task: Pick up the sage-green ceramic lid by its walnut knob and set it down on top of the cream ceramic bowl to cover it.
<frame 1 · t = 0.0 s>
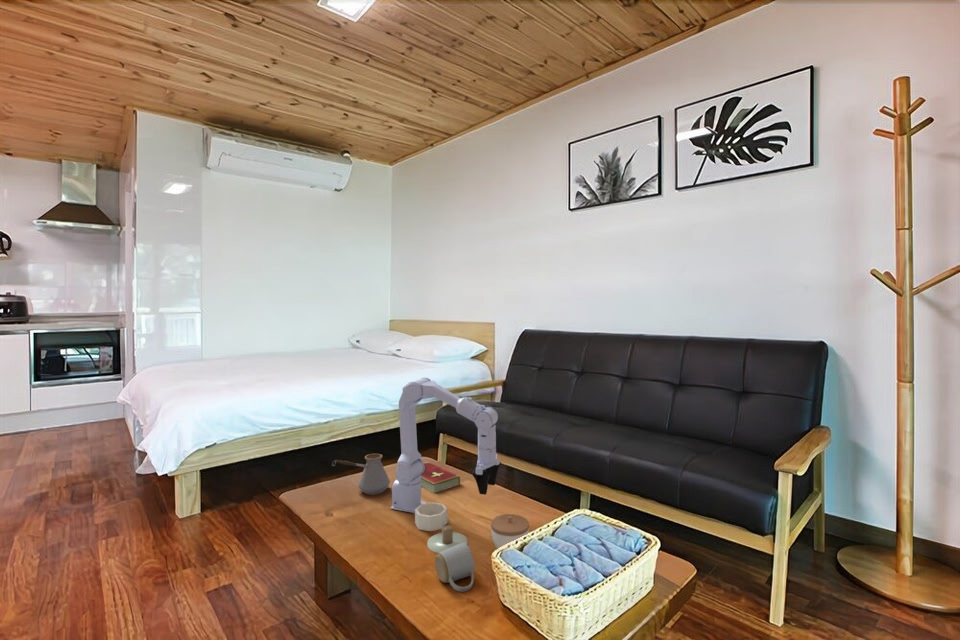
hand: (487, 489, 148), 10 cm above the table, fingers open, 7 cm apart
lid: (447, 544, 135), on the table
coffee pot: (362, 494, 169), on the table
ceramic mug: (457, 580, 117), on the table
lidded jar: (510, 550, 131), on the table
bowl: (431, 523, 147), on the table
hardcover book: (431, 482, 181), on the table
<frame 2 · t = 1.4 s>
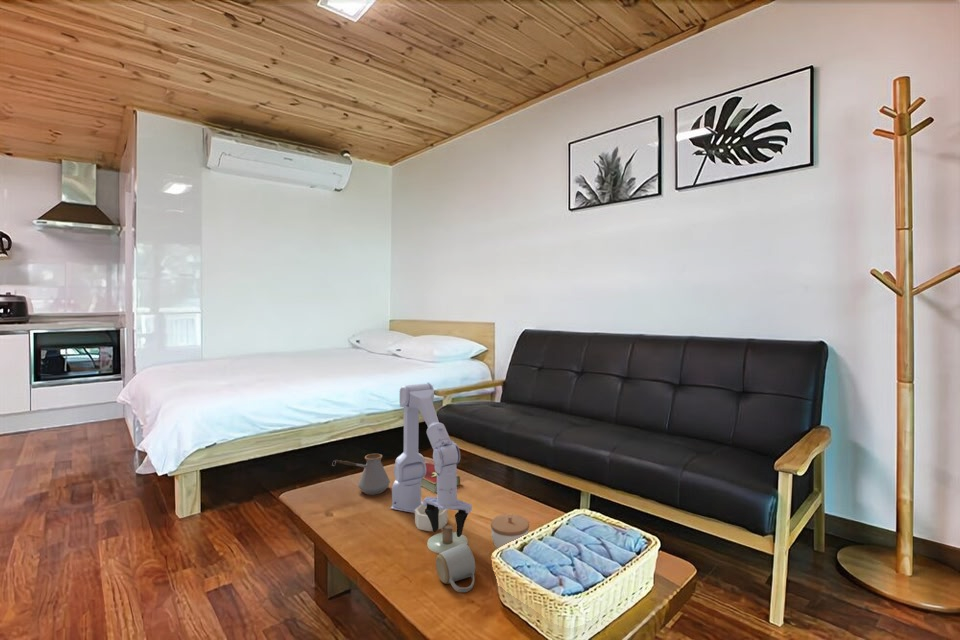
hand: (447, 533, 134), 3 cm above the table, fingers open, 7 cm apart
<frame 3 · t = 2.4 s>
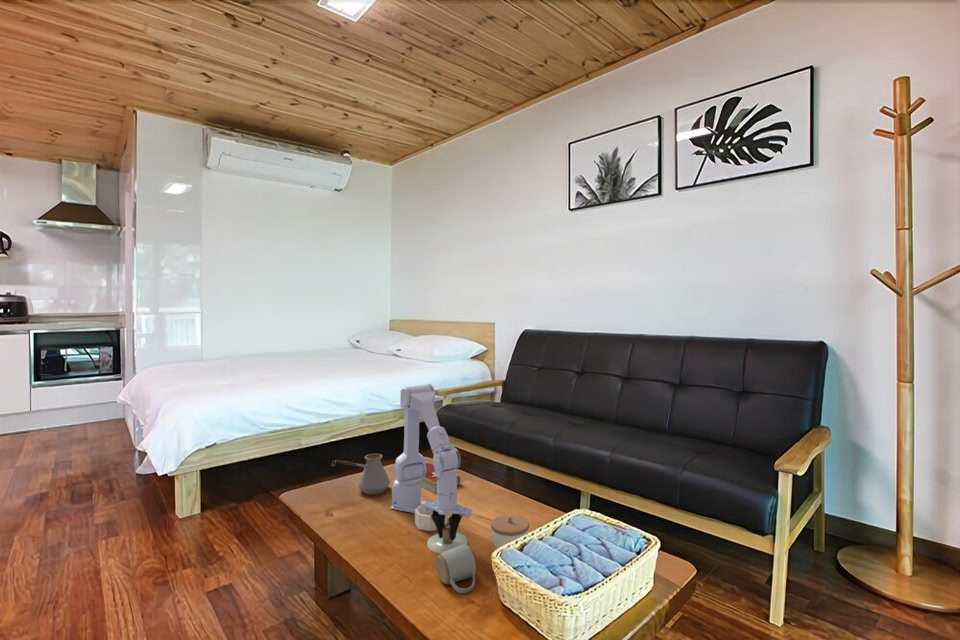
hand: (447, 537, 135), 2 cm above the table, fingers closed on lid, 3 cm apart
lid: (447, 544, 135), on the table, touching gripper
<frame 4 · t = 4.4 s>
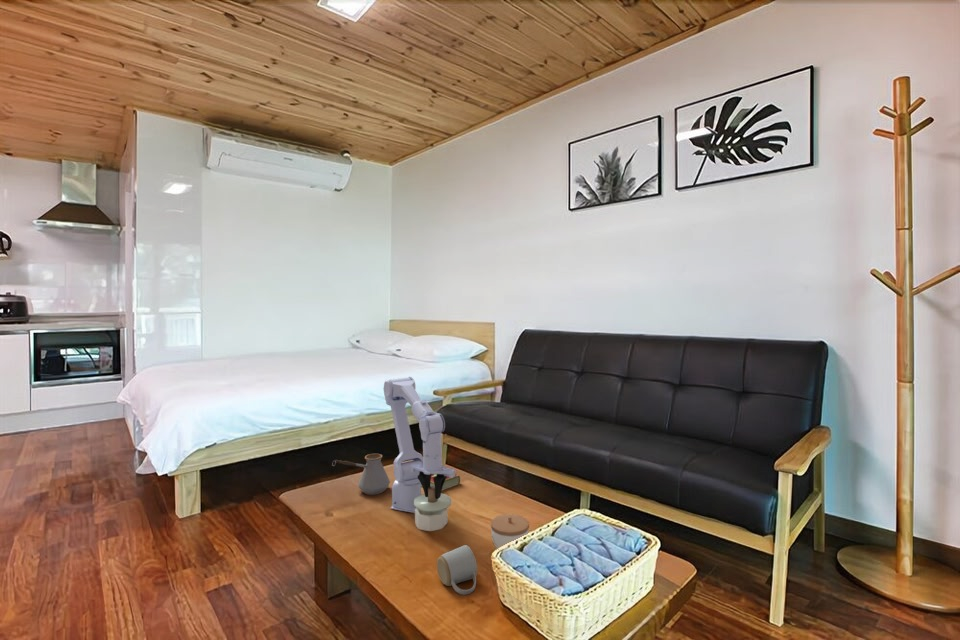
hand: (432, 496, 145), 9 cm above the table, fingers closed on lid, 3 cm apart
lid: (432, 503, 145), point 7 cm above the table, touching gripper
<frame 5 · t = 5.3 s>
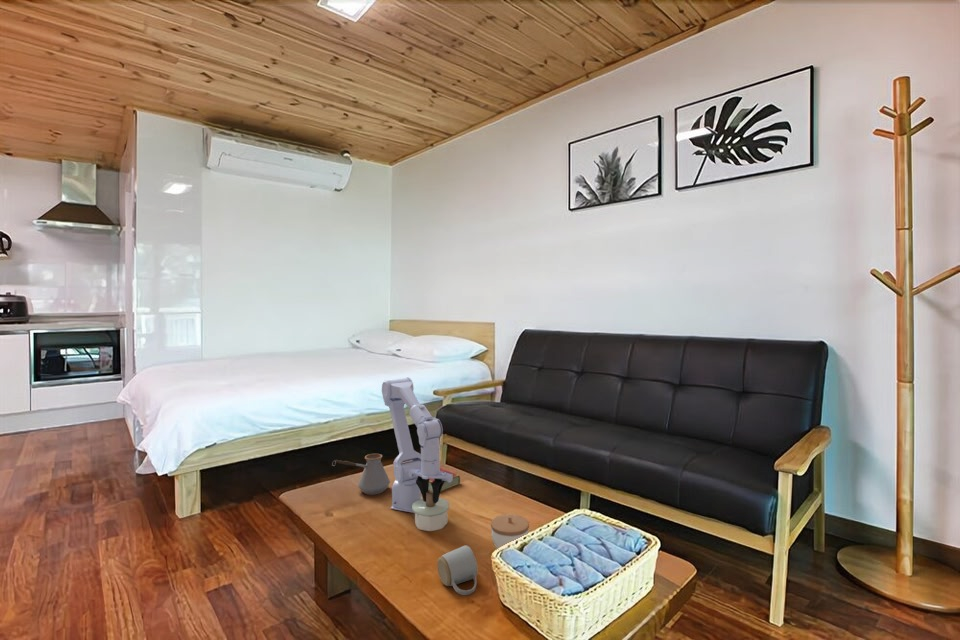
hand: (430, 501, 146), 7 cm above the table, fingers closed on lid, 3 cm apart
lid: (430, 507, 146), point 5 cm above the table, touching gripper
when the fingers open (7 cm above the table, at t = 6.0 s): lid stays where it is, resting on bowl.
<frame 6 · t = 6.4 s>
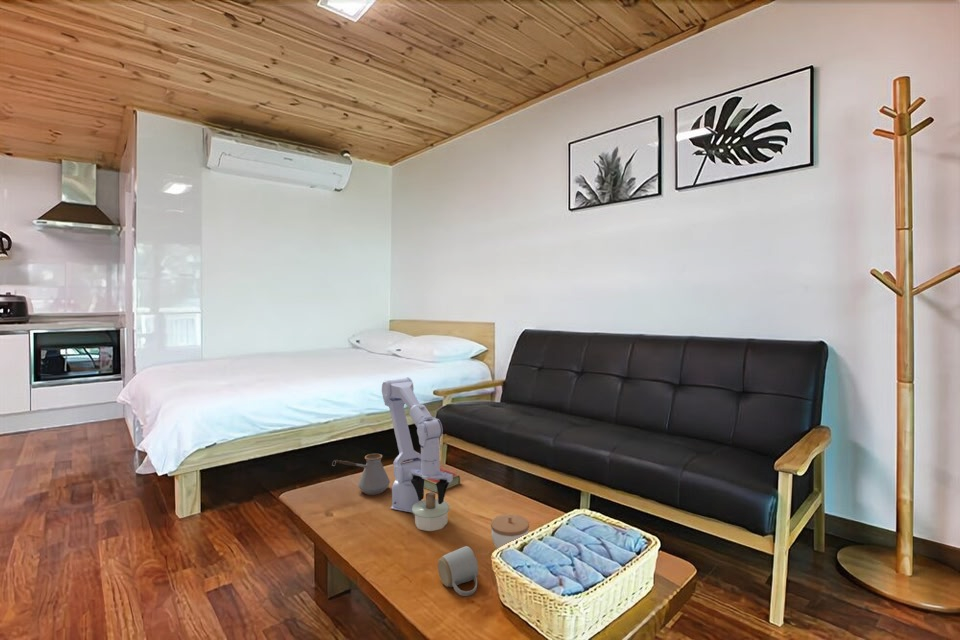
hand: (430, 501, 146), 7 cm above the table, fingers open, 6 cm apart
lid: (430, 509, 146), point 4 cm above the table, touching bowl
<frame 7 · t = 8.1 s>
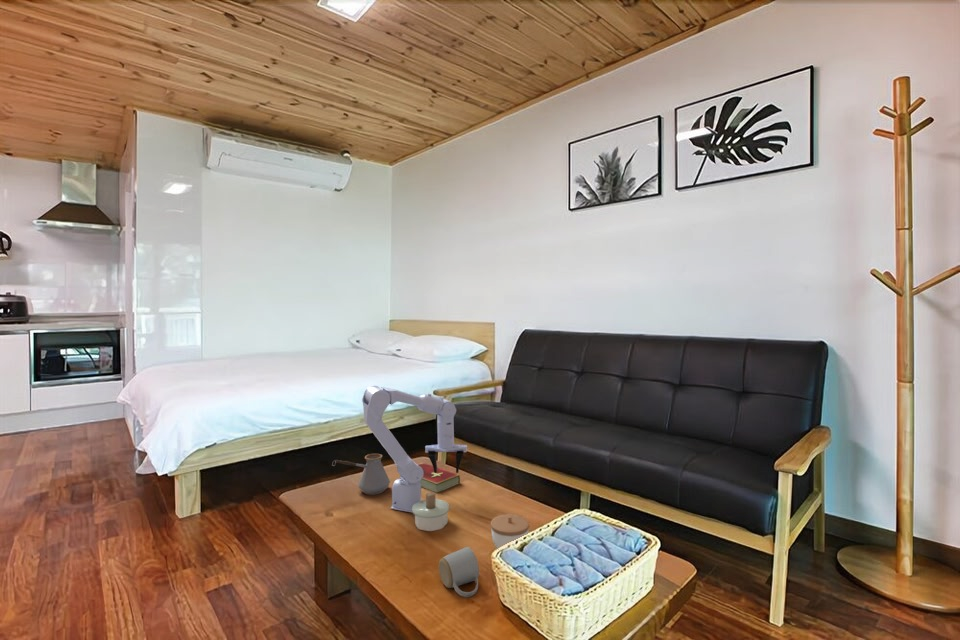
hand: (446, 471, 165), 10 cm above the table, fingers open, 7 cm apart
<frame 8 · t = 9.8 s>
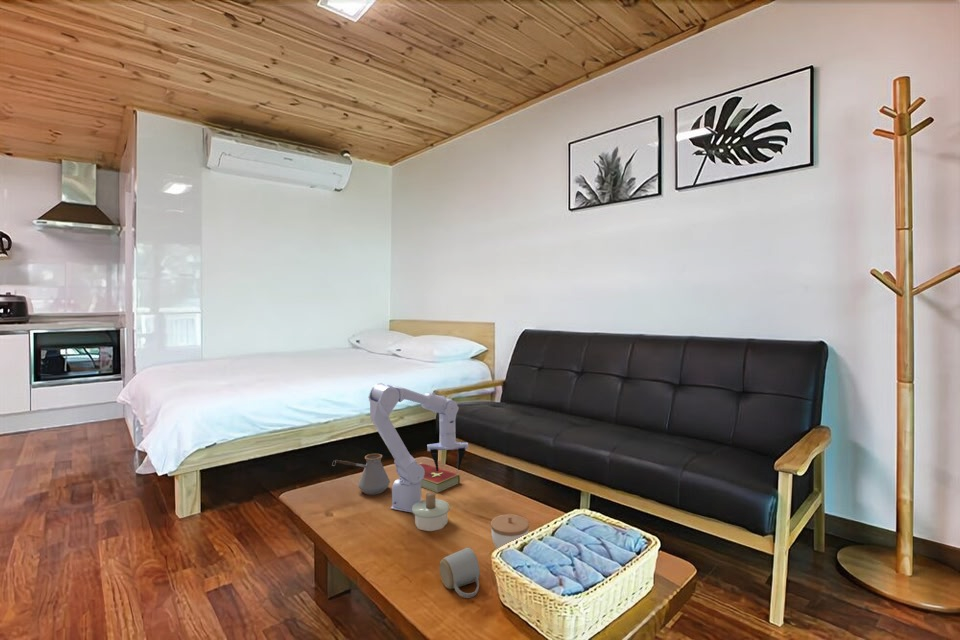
hand: (448, 469, 167), 9 cm above the table, fingers open, 7 cm apart
at the end: lid 0.1 cm off-centre on the bowl, point 4.5 cm above the bowl's base; lid tilted 0°; the gripper is holding nothing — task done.
